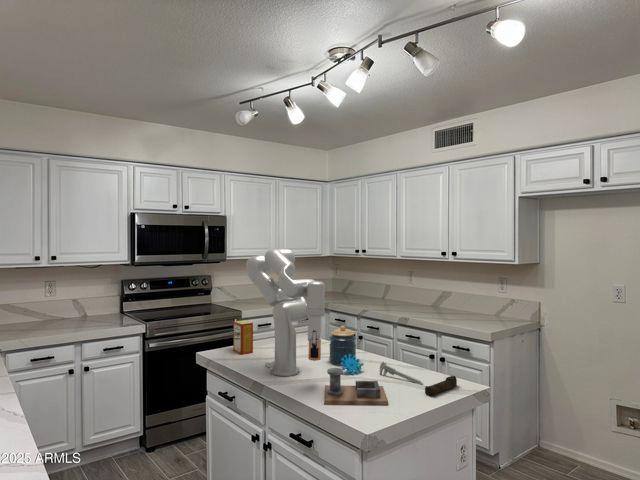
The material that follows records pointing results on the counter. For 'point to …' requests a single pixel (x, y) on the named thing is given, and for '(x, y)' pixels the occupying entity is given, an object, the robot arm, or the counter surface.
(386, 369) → the caliper
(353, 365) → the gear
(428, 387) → the hand tool
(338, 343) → the canister
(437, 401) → the counter surface
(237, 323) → the baking soda box
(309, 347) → the tan oval solid
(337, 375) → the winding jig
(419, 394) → the counter surface
